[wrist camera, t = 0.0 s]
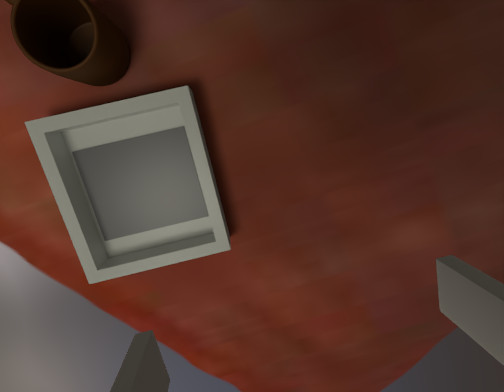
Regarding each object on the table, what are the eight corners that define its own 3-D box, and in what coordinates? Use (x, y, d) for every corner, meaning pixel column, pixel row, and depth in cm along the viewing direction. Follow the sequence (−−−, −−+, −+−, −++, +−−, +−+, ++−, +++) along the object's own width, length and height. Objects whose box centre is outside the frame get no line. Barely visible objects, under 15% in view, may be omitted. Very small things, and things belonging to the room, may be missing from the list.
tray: (48, 122, 36) (24, 122, 32) (192, 90, 37) (187, 85, 33) (103, 267, 41) (89, 284, 37) (230, 236, 42) (230, 249, 37)
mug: (16, 31, 34) (-60, -4, 25) (52, -26, 33) (-14, -84, 24) (108, 100, 37) (69, 92, 27) (144, 49, 36) (116, 22, 26)
